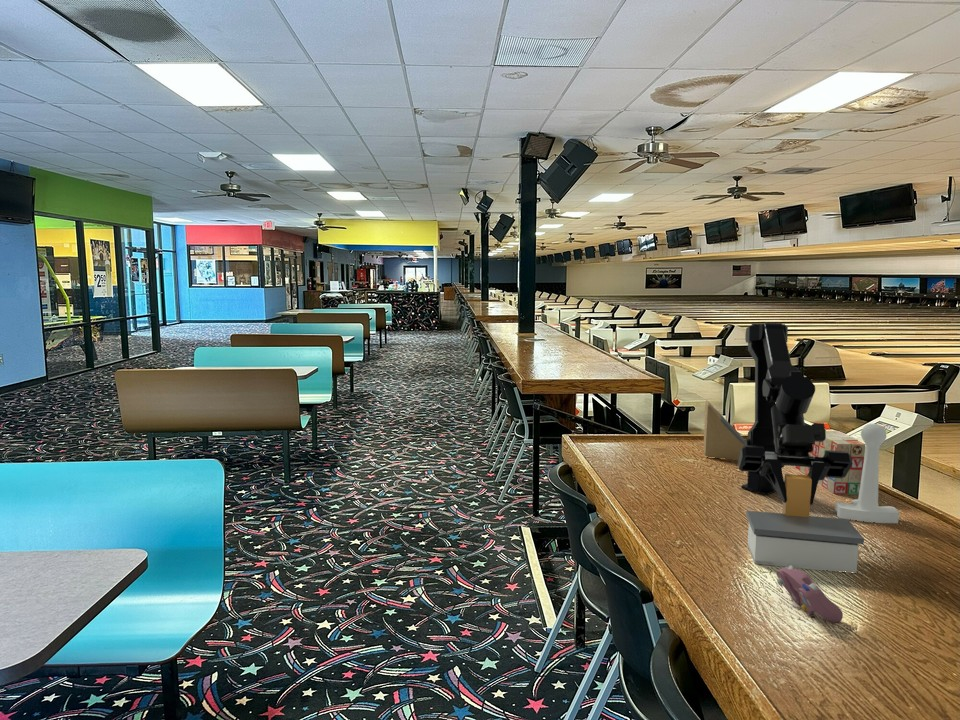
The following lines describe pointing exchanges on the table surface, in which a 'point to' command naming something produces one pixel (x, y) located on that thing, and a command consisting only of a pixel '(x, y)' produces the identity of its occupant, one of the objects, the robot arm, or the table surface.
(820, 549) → the tub
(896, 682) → the table surface
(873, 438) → the joystick
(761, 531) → the lid
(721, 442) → the sandwich container
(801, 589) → the video game controller
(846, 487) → the stack of blocks
